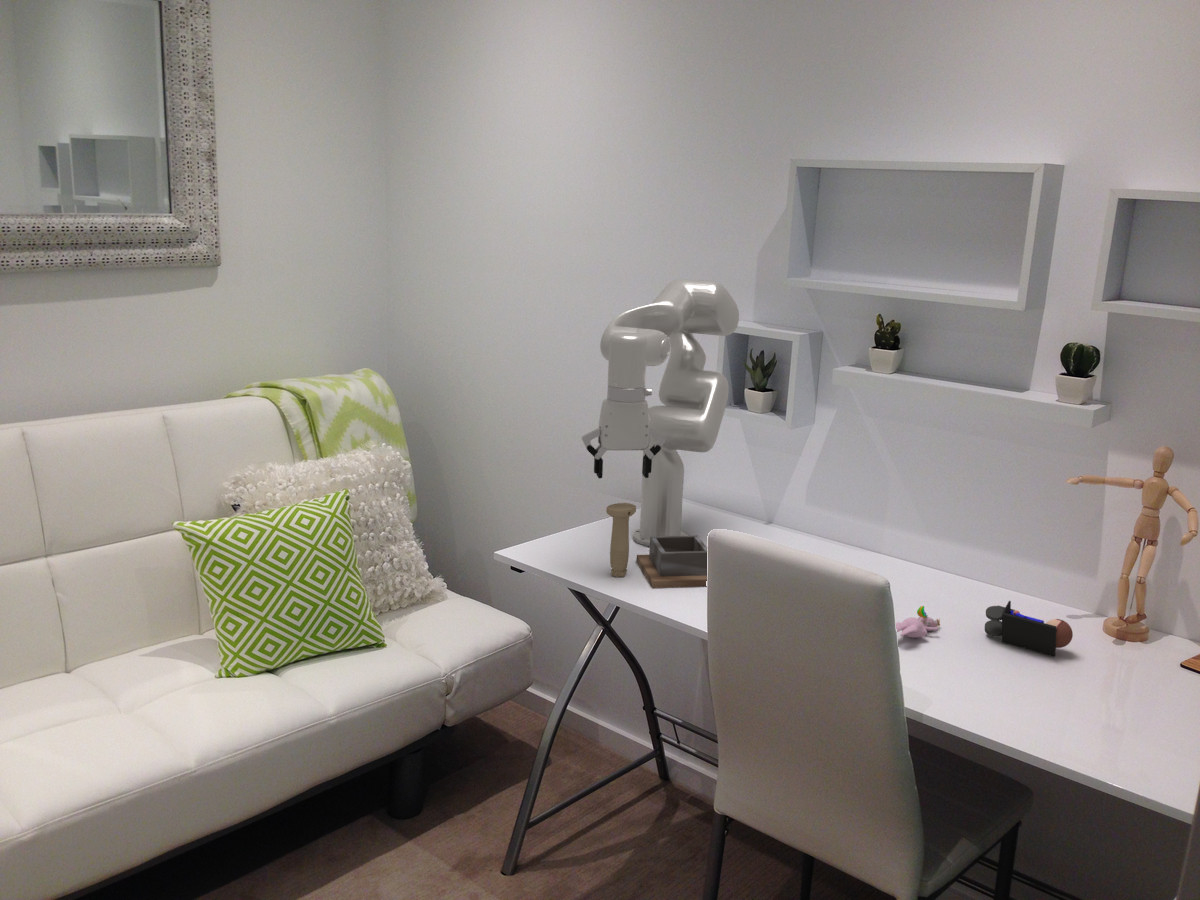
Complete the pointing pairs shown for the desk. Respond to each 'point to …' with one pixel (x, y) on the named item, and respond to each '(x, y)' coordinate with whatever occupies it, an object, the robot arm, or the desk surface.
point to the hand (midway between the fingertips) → (622, 476)
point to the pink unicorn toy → (918, 625)
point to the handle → (620, 537)
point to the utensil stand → (675, 562)
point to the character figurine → (1027, 630)
